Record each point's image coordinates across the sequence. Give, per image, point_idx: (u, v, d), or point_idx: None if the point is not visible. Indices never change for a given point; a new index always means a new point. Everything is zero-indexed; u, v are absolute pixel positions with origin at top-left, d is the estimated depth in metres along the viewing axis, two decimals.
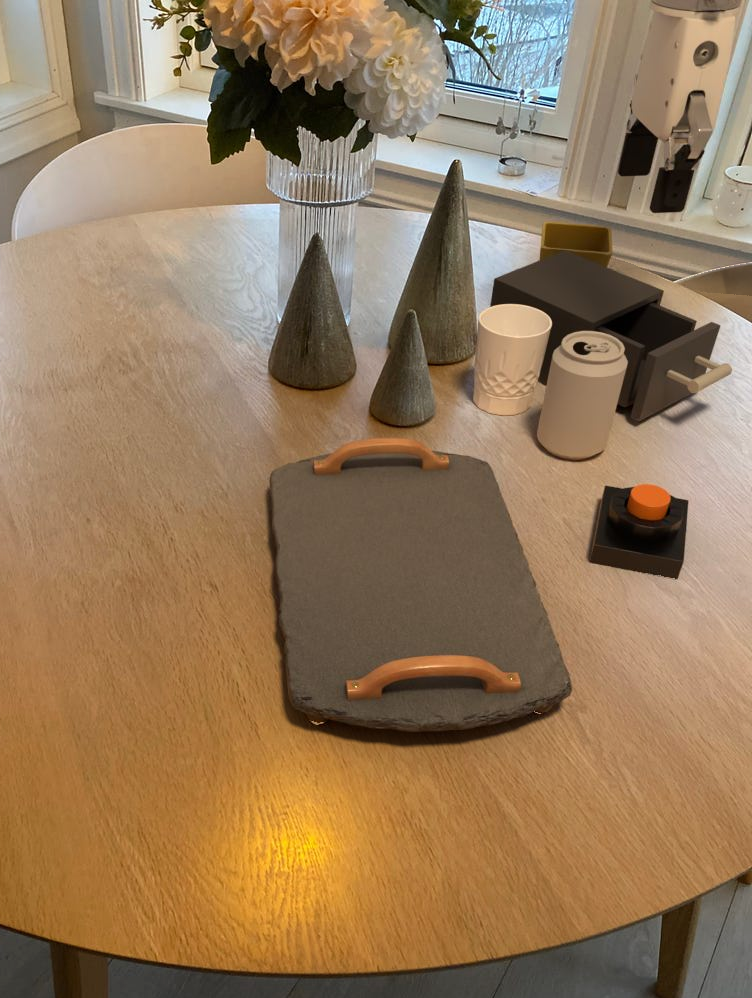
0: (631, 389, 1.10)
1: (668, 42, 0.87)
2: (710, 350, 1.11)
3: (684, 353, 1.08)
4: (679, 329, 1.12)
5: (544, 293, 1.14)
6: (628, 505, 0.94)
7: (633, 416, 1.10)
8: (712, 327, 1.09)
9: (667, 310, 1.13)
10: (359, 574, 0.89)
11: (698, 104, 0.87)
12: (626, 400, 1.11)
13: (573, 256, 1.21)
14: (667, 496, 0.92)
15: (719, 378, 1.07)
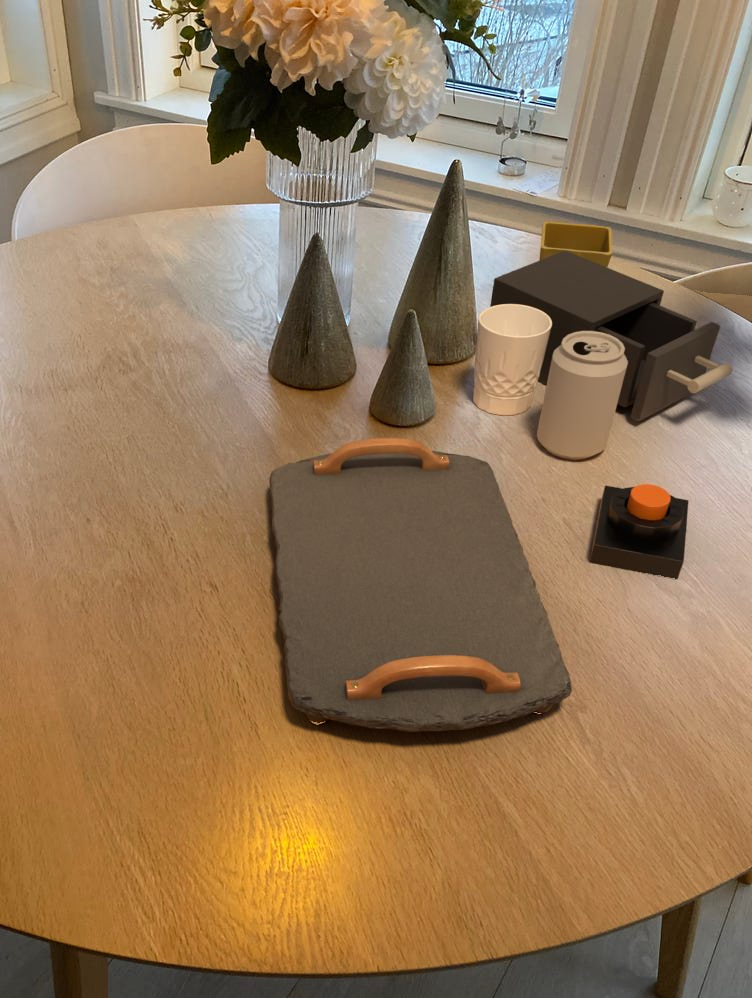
0: (631, 389, 1.10)
1: None
2: (710, 350, 1.11)
3: (684, 353, 1.08)
4: (679, 329, 1.12)
5: (544, 293, 1.14)
6: (628, 505, 0.94)
7: (633, 416, 1.10)
8: (712, 327, 1.09)
9: (667, 310, 1.13)
10: (359, 574, 0.89)
11: None
12: (626, 400, 1.11)
13: (573, 256, 1.21)
14: (667, 496, 0.92)
15: (719, 378, 1.07)
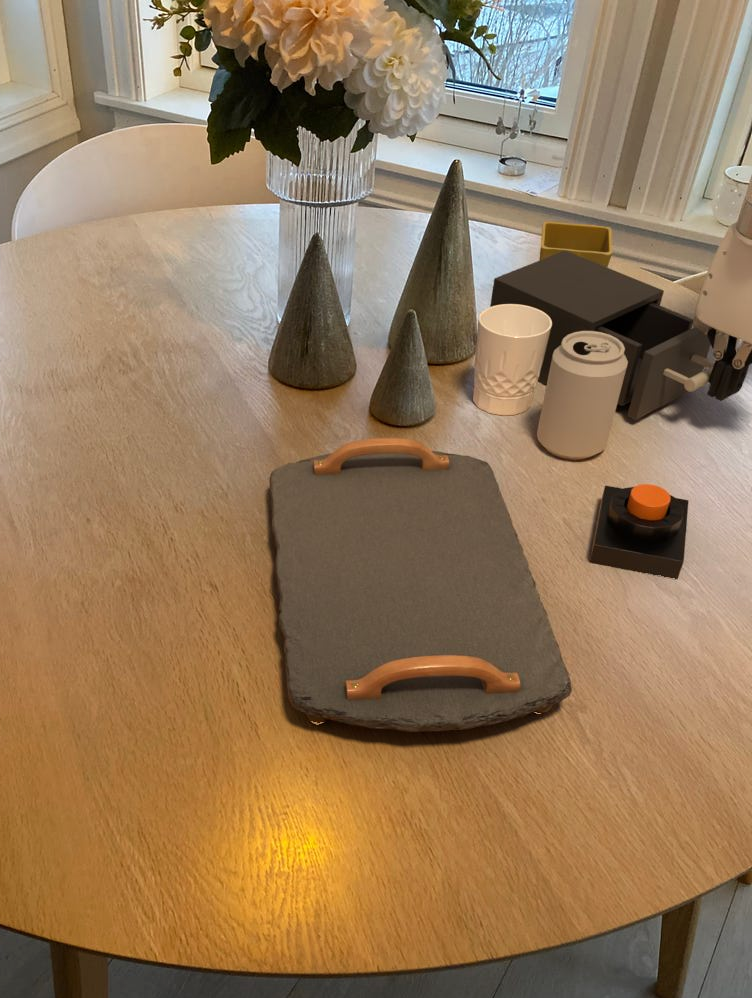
0: (628, 387, 1.10)
1: None
2: (707, 349, 1.11)
3: (681, 351, 1.08)
4: (676, 328, 1.12)
5: (544, 293, 1.14)
6: (628, 505, 0.94)
7: (630, 414, 1.10)
8: None
9: (664, 309, 1.13)
10: (359, 574, 0.89)
11: None
12: (623, 399, 1.11)
13: (573, 256, 1.21)
14: (667, 496, 0.92)
15: None
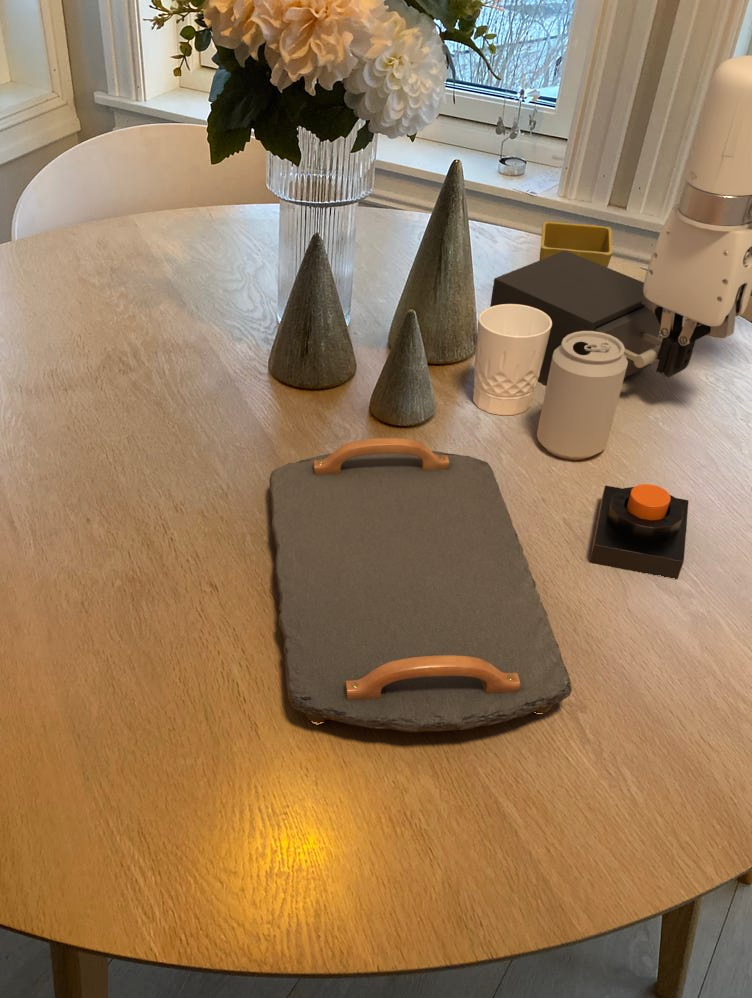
0: None
1: (712, 250, 0.98)
2: (658, 327, 1.15)
3: (631, 329, 1.12)
4: None
5: (544, 293, 1.14)
6: (628, 505, 0.94)
7: None
8: None
9: None
10: (359, 574, 0.89)
11: (732, 307, 1.01)
12: None
13: (573, 256, 1.21)
14: (667, 496, 0.92)
15: None
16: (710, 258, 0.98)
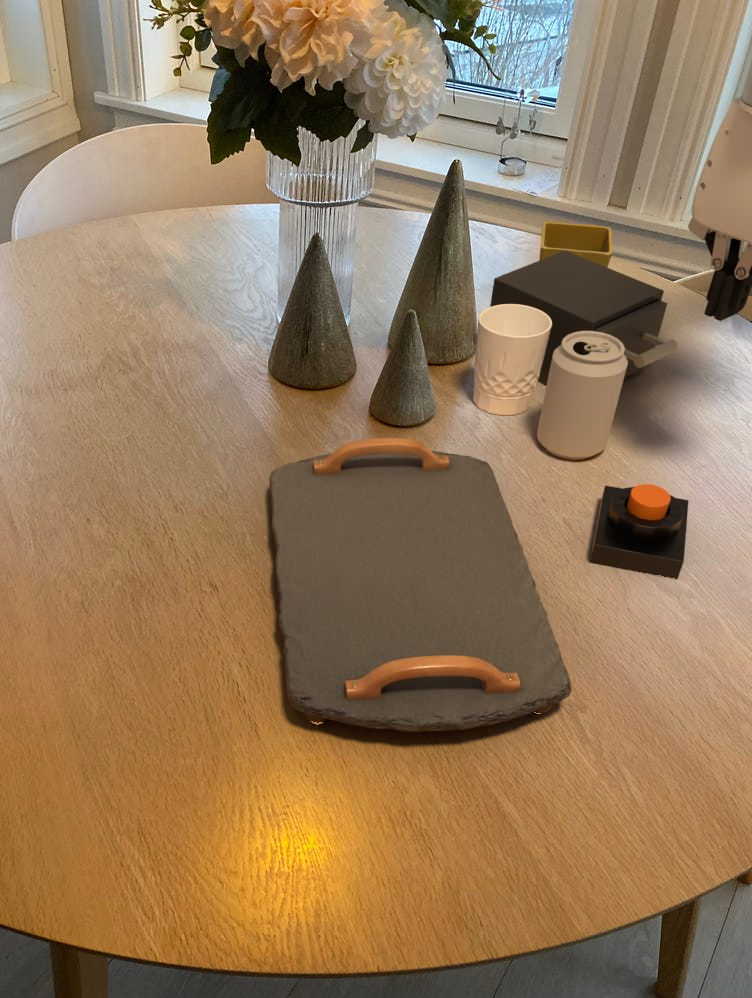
0: None
1: None
2: (658, 327, 1.15)
3: (631, 329, 1.12)
4: None
5: (544, 293, 1.14)
6: (628, 505, 0.94)
7: None
8: (659, 305, 1.13)
9: None
10: (359, 574, 0.89)
11: None
12: None
13: (573, 256, 1.21)
14: (667, 496, 0.92)
15: (665, 354, 1.11)
16: None
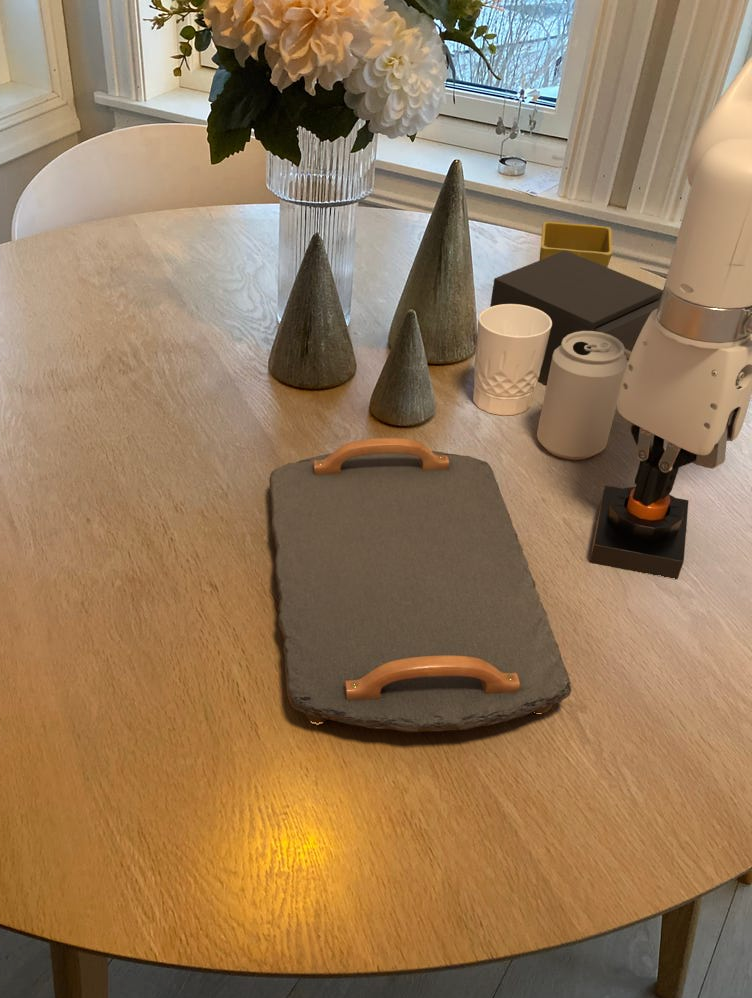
0: None
1: (698, 368, 0.80)
2: None
3: (631, 329, 1.12)
4: None
5: (544, 293, 1.14)
6: (627, 506, 0.94)
7: None
8: None
9: None
10: (358, 574, 0.89)
11: (723, 433, 0.84)
12: None
13: (573, 256, 1.21)
14: (667, 498, 0.93)
15: None
16: (695, 378, 0.81)
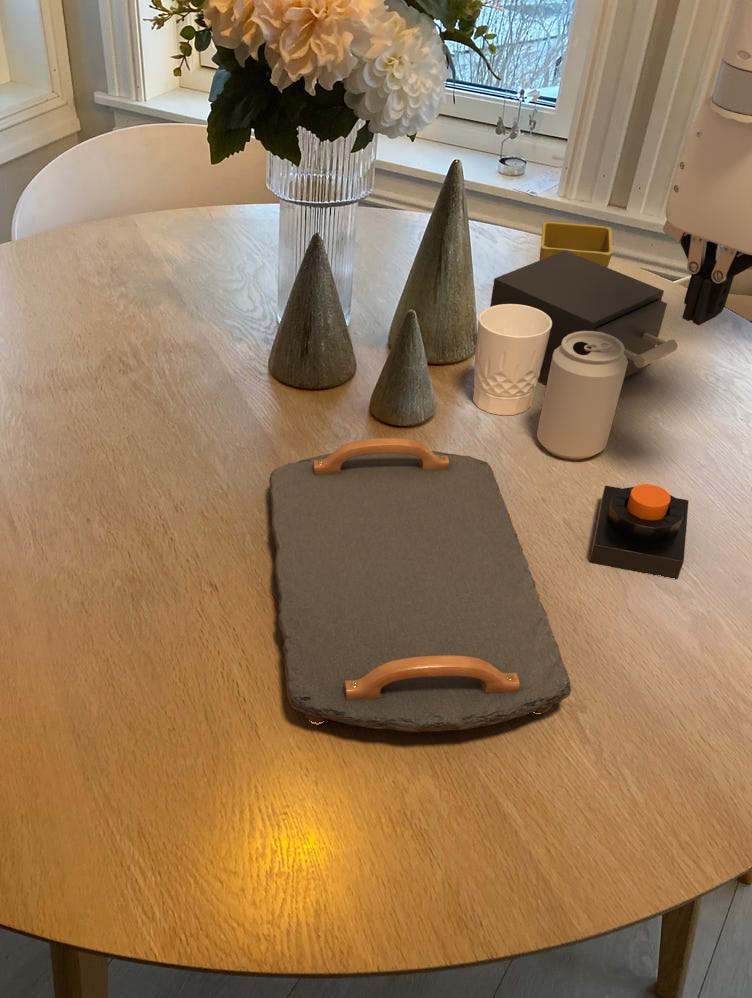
0: None
1: None
2: (658, 327, 1.15)
3: (631, 329, 1.12)
4: None
5: (544, 293, 1.14)
6: (628, 505, 0.94)
7: None
8: (659, 305, 1.13)
9: None
10: (358, 574, 0.89)
11: None
12: None
13: (573, 256, 1.21)
14: (667, 497, 0.92)
15: (665, 354, 1.11)
16: None
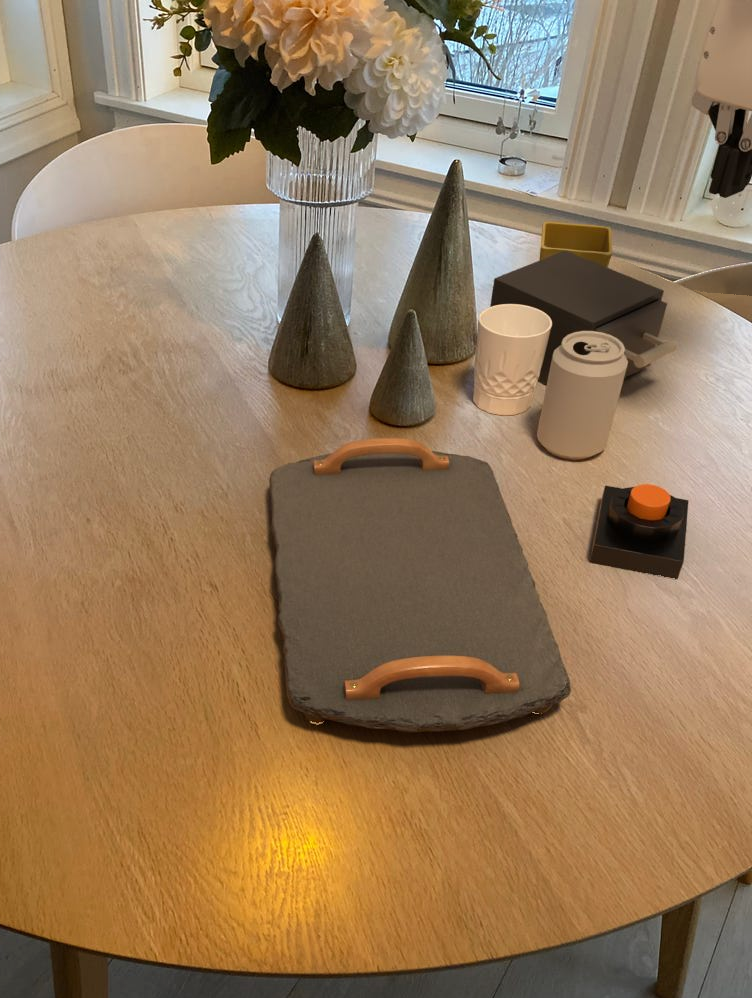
0: None
1: None
2: (658, 327, 1.15)
3: (631, 329, 1.12)
4: None
5: (544, 293, 1.14)
6: (628, 505, 0.94)
7: None
8: (659, 305, 1.13)
9: None
10: (358, 574, 0.89)
11: None
12: None
13: (573, 256, 1.21)
14: (667, 497, 0.92)
15: (665, 354, 1.11)
16: None
